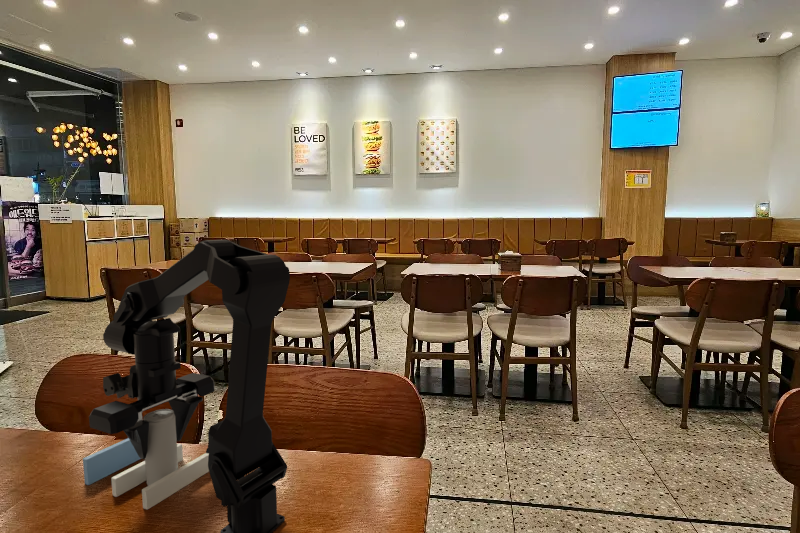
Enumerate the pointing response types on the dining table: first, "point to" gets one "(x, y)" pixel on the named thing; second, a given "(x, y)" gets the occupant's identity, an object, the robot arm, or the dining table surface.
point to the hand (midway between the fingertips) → (160, 448)
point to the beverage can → (161, 445)
